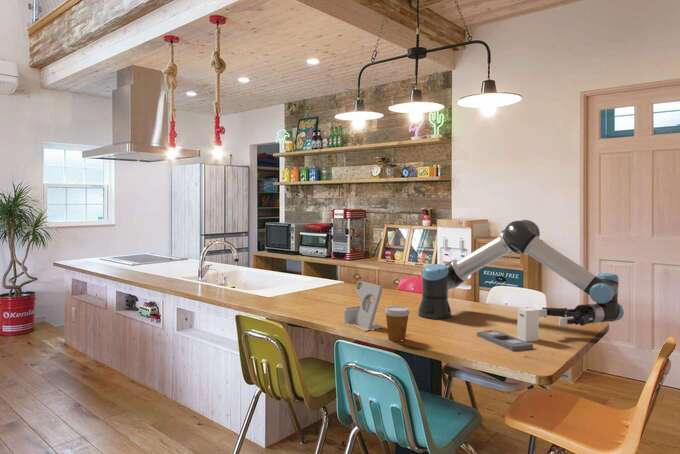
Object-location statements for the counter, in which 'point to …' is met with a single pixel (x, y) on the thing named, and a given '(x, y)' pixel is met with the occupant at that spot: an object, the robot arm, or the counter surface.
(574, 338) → the counter surface
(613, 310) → the robot arm
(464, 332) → the counter surface
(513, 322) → the counter surface
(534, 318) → the block
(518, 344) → the power strip
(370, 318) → the phone holder
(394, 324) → the disposable coffee cup
